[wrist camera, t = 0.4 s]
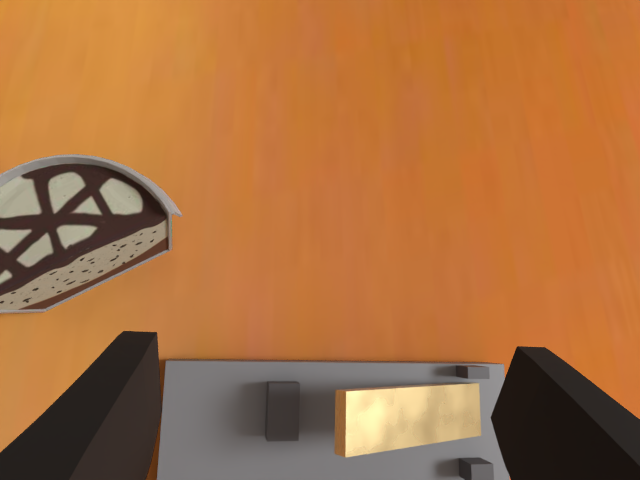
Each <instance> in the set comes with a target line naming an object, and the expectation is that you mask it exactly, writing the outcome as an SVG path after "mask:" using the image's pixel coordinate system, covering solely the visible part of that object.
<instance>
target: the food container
mask: <svg viewBox="0 0 640 480" xmlns="http://www.w3.org/2000/svg"><path fill="white" fill-rule="evenodd" d="M173 214H175V215H177V216H179V217H181V216H182V214H181V212H180V211H179V209H178V208H177V206H176V205H175V203H174V202H173V201H172V200H171V199H170V198H169V196H168V195H167V194H166V193H165V192H164V191H163V190H162V189H161V188H160V187H159V186H157V185H156V184H155V183H154V182H152V181H151V180H150V179H148V178H147V177H145V176H143V175H142V174H140V173H138V172H137V171H135V170H133V169H131V168H129V167H127V166H125V165H122V164H120V163H117V162H115V161H112V160H108V159H104V158H100V157H96V156H88V155H78V154H73V155H56V156H50V157H45V158H39V159H36V160H33V161H30V162H27V163H24V164H21V165H18V166H16V167H14V168H12V169H10V170H8V171H6V172H4V173H2V174H0V313H37V312H46V311H48V310H50V309H52V308H54V307H56V306H58V305H60V304H62V303H64V302H66V301H68V300H70V299H72V298H74V297H76V296H78V295H80V294H83V293H85V292H87V291H89V290H91V289H93V288H95V287H97V286H99V285H101V284H103V283H105V282H107V281H109V280H111V279H113V278H115V277H117V276H119V275H121V274H124V273H126V272H128V271H130V270H132V269H134V268H136V267H138V266H140V265H142V264H144V263H146V262H148V261H150V260H152V259H154V258H156V257H158V256H160V255H162V254H164V253H167V252H169V251H171V250H172V215H173Z"/></svg>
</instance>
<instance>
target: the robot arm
mask: <svg viewBox="0 0 640 480" xmlns="http://www.w3.org/2000/svg"><path fill="white" fill-rule="evenodd" d="M161 412H162V406H161V390H160V373H159V357H158V341H157V332H134V331H123V332H122V333H121V334H120V335H118V336H117V337H116V339H115V340H114V341H113V342H112V343H111V344H110V345H109V346H108V347H107V348H106V349H105V350H104V352H103V353H102V354H101V355H100V356H99V357H98V358H97V359H96V360H95V361H94V362H93V363H92V364H91V365H90V367H89V368H88V369H87V370H86V371H85V372H84V373H83V374H82V375H81V376H80V377H79V378H78V379H77V380H76V381H75V382H74V383H73V384H72V385H71V386H70V387H69V388H68V389H67V390H66V391H65V392H64V393H63V394H62V395H61V396H60V397H59V398H58V399H57V400H56V401H55V402H54V403H53V404H52V405H51V406H50V407H49V408H48V409H47V410H46V411H45V412H44V413H43V414H42V415H41V416H40V417H39V418H38V419H37V420H36V421H35V422H34V423H32V424H31V425H30V426H29V427H28V428H27V429H26V430H25V431H24V432H23V433H21V434H20V435H19V436H18V437H17V438H16V439H15V440H14V441H13V442H12V443H10V444H9V445H8V446H7V447H6V448H5V449H4V450H3V451H2V452H0V480H146V477H147V473H148V470H149V467H150V464H151V460H152V455H153V451H154V446H155V441H156V437H157V432H158V427H159V422H160V417H161ZM491 421H492V424H493V428H494V431H495V435H496V438H497V442H498V445H499V448H500V451H501V454H502V458H503V461H504V464H505V467H506V469H507V471H508V474H509V476H510V478H511V480H640V419H638V418H637V417H636V416H634V415H633V414H632V413H631V412H629V411H628V410H627V409H625V408H624V407H623V406H622V405H620V404H619V403H618V402H616V401H615V400H614V399H613V398H611V397H610V396H609V395H607V394H606V393H605V392H604V391H602V390H601V389H600V388H599V387H597V386H596V385H595V384H593V383H592V382H591V381H590V380H588V379H587V378H586V377H584V376H583V375H582V374H581V373H579V372H578V371H577V370H575V369H574V368H573V367H571V366H570V365H569V364H568V363H566V362H565V361H564V360H562V359H561V358H559V357H558V356H557V355H555V354H554V353H552V352H551V351H550V350H548V349H547V348H545V347H519V346H517V348H516V351H515V353H514V356H513V359H512V361H511V364H510V367H509V369H508V372H507V375H506V377H505V380H504V383H503V386H502V388H501V391H500V394H499V396H498V399H497V402H496V404H495V407H494V410H493V412H492V415H491Z"/></svg>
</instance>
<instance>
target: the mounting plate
mask: <svg viewBox="0 0 640 480" xmlns="http://www.w3.org/2000/svg"><path fill="white" fill-rule="evenodd" d="M504 380H505V377H504V364H497V363H488V362H411V361H318V360H225V359H169V360H167V361H166V367H165V380H164V393H163V406H162V419H161V432H160V445H159V458H158V471H157V480H509V474H508V471H507V469H506V467H505V464H504V461H503V458H502V454H501V451H500V448H499V445H498V442H497V438H496V435H495V431H494V428H493V424H492V421H491V415H492V412H493V410H494V407H495V404H496V402H497V399H498V396H499V394H500V391H501V388H502V386H503V383H504ZM457 382H473V383H479V393H480V419H481V436H476V437H470V438H464V439H457V440H451V441H445V442H439V443H432V444H426V445H420V446H414V447H408V448H401V449H395V450H389V451H383V452H377V453H370V454H364V455H358V456H352V457H346V458H345V457H342V456H339V455H336V454H334V450H335V390H339V389H356V388H373V387H390V386H406V385H423V384H440V383H457Z"/></svg>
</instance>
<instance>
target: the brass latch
mask: <svg viewBox="0 0 640 480" xmlns="http://www.w3.org/2000/svg"><path fill="white" fill-rule="evenodd" d="M476 436H481V419H480V393H479V383H473V382H457V383H440V384H423V385H406V386H390V387H373V388H356V389H339V390H335V450H334V454H336V455H339V456H342V457H345V458H346V457H352V456H358V455H364V454H370V453H377V452H383V451H389V450H395V449H401V448H408V447H414V446H420V445H426V444H432V443H439V442H445V441H451V440H457V439H464V438H470V437H476Z"/></svg>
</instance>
